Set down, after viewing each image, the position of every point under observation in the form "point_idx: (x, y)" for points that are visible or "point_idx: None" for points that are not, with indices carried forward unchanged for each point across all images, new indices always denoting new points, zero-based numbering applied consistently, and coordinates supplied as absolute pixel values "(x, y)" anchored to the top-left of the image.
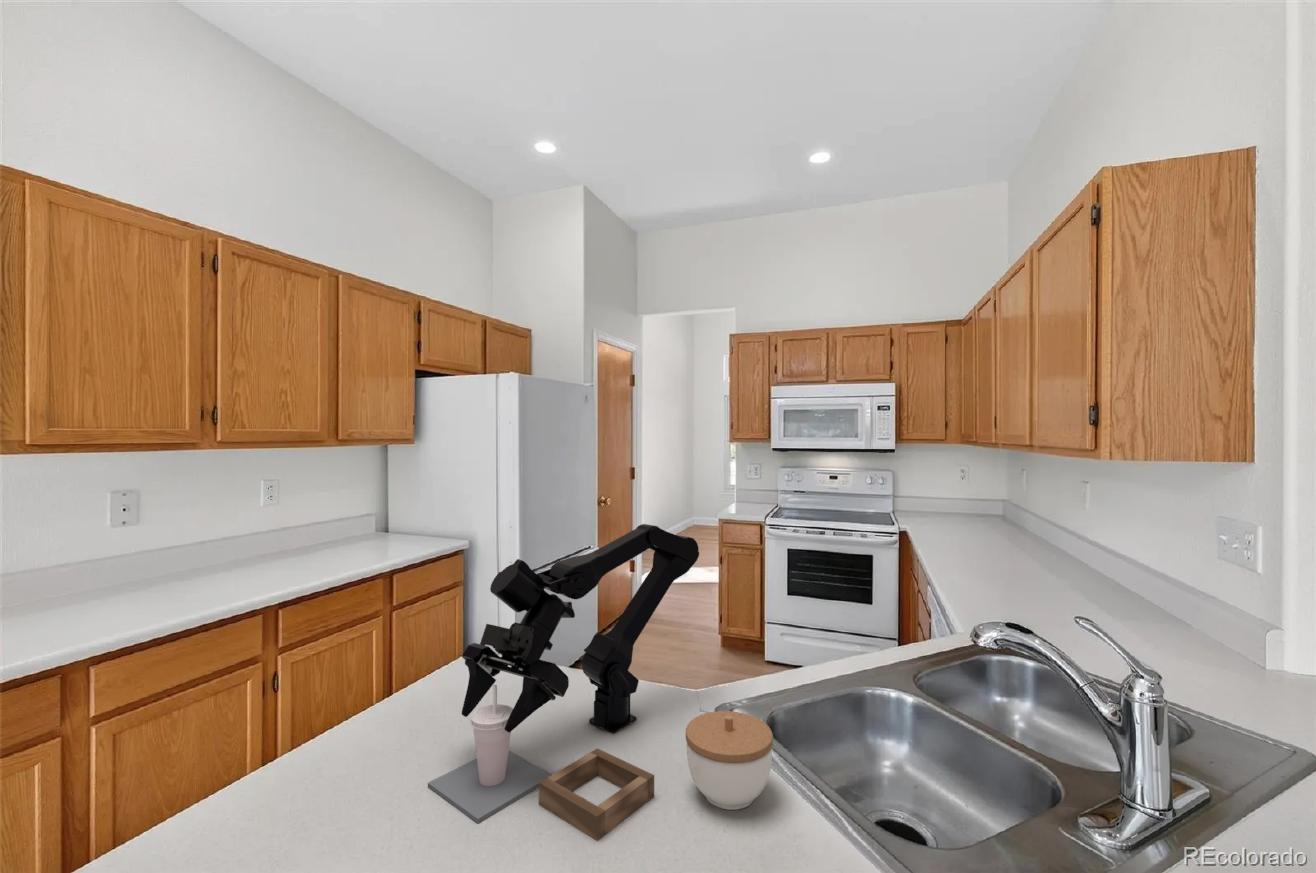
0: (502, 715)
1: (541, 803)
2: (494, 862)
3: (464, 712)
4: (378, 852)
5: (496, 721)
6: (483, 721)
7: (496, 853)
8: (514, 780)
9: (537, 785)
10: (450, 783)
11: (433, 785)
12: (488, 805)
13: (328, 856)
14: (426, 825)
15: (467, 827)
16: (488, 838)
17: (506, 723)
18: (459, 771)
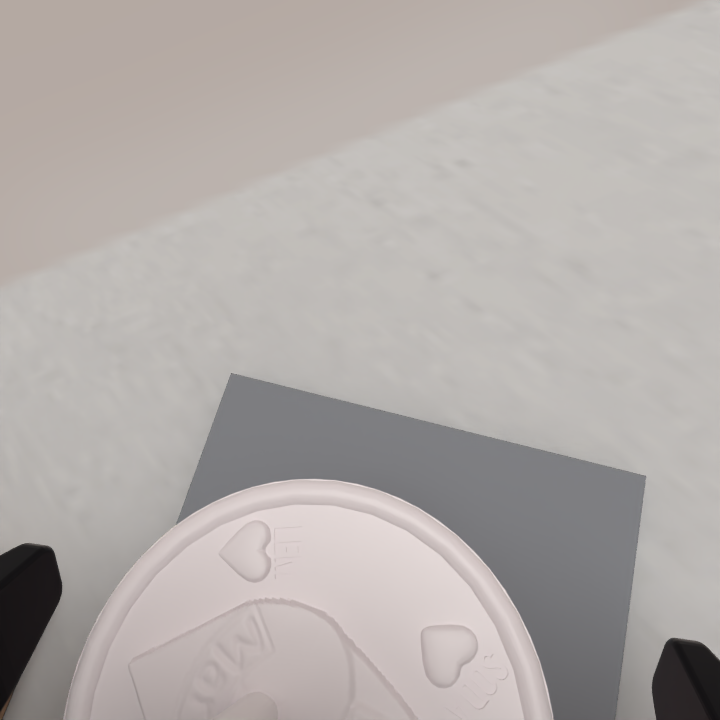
0: (144, 712)
1: None
2: (68, 263)
3: (675, 662)
4: (453, 145)
5: (162, 593)
6: (290, 536)
7: (82, 294)
8: None
9: None
10: (534, 518)
11: (597, 470)
12: (244, 459)
13: (583, 76)
14: (415, 292)
15: (260, 347)
16: (149, 335)
17: (13, 569)
18: (581, 627)
